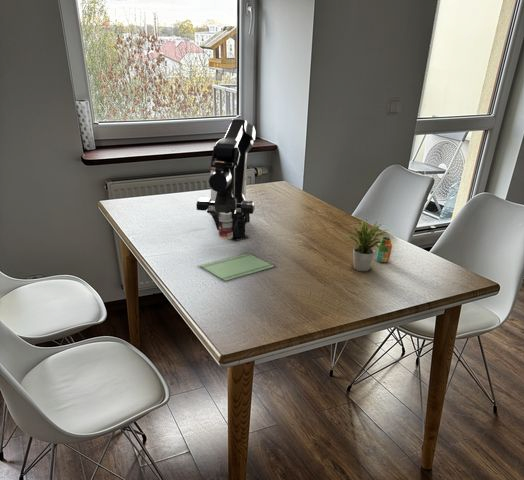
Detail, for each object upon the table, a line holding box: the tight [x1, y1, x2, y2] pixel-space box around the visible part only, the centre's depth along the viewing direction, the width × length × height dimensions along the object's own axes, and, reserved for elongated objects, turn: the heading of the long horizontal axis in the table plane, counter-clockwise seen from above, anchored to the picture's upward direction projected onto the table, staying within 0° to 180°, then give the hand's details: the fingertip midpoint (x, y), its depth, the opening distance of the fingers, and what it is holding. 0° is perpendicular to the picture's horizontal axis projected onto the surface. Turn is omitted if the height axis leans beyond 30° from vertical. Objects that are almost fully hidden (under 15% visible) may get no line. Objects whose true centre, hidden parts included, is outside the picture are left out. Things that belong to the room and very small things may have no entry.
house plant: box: [347, 219, 388, 272], centre depth 168 cm, size 14×14×16 cm
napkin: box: [199, 253, 275, 282], centre depth 170 cm, size 14×20×1 cm
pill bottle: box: [218, 212, 233, 240], centre depth 174 cm, size 5×5×8 cm
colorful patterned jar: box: [376, 236, 393, 263], centre depth 177 cm, size 5×5×8 cm
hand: (225, 230), depth 175 cm, fingers closed on pill bottle, 5 cm apart
